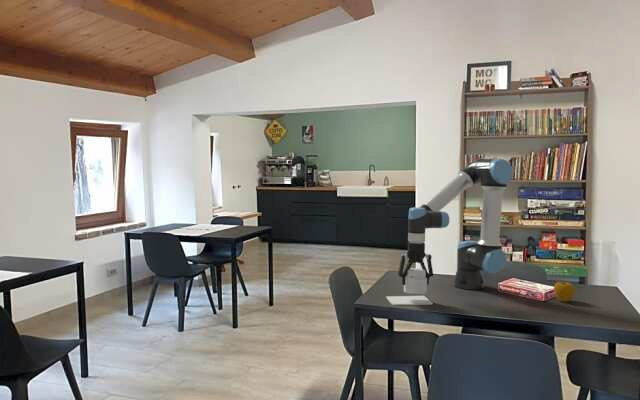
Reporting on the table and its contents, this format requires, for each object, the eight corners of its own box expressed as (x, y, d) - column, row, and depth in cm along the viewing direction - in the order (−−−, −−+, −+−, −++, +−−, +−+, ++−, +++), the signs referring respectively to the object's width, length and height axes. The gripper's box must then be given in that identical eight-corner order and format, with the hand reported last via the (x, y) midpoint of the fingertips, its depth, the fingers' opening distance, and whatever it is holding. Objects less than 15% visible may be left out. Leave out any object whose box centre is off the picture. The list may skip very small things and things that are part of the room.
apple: (573, 299, 219) (574, 280, 218) (575, 304, 211) (576, 285, 210) (553, 297, 222) (554, 278, 222) (553, 302, 215) (554, 283, 214)
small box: (422, 290, 218) (423, 268, 217) (425, 294, 212) (426, 270, 211) (405, 290, 218) (406, 267, 217) (407, 293, 212) (408, 270, 212)
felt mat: (424, 297, 222) (424, 295, 222) (432, 304, 210) (432, 303, 210) (386, 297, 220) (386, 296, 220) (392, 305, 208) (392, 304, 208)
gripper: (436, 240, 218) (435, 289, 220) (391, 240, 216) (390, 289, 218) (442, 243, 211) (440, 293, 212) (395, 243, 209) (394, 294, 210)
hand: (415, 291), depth 215 cm, fingers closed on small box, 8 cm apart
